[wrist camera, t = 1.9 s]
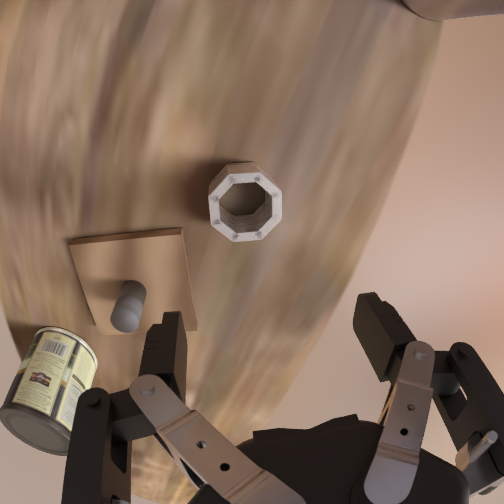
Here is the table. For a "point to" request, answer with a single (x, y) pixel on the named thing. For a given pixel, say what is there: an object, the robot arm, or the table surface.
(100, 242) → the post block
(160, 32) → the table surface
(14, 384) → the coffee can
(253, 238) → the ring
